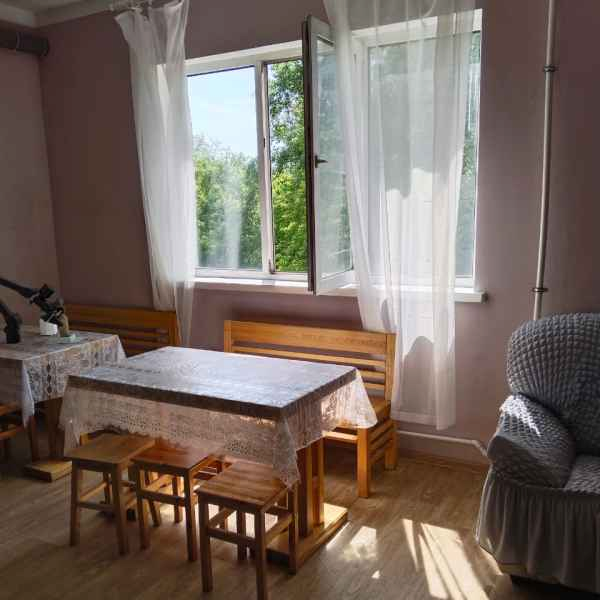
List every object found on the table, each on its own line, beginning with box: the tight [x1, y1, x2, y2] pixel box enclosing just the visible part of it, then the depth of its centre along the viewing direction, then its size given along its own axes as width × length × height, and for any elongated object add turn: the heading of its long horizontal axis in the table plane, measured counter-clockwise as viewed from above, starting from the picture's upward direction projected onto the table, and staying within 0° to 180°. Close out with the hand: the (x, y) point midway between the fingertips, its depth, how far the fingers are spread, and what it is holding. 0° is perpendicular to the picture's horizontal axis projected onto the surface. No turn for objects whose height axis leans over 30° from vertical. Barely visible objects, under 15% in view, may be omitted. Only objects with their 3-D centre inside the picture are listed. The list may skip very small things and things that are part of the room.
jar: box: [39, 312, 58, 336], centre depth 354 cm, size 9×8×12 cm
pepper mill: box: [58, 314, 70, 338], centre depth 337 cm, size 5×5×14 cm
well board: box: [44, 333, 86, 345], centre depth 338 cm, size 18×12×3 cm, turn 94°
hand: (66, 324), depth 337 cm, fingers open, 9 cm apart
